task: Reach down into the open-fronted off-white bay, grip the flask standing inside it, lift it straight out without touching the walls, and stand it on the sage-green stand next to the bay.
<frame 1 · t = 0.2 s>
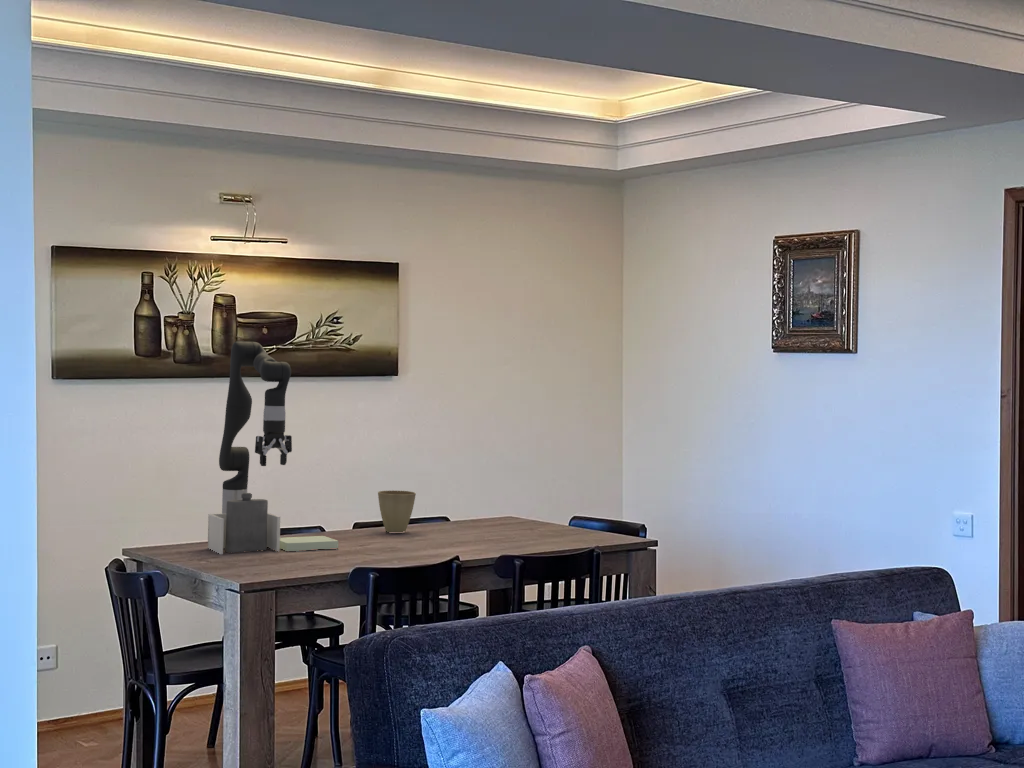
hand: (273, 465, 428), 30 cm above the table, tool pointing down, fingers open, 8 cm apart
stand: (305, 547, 437), on the table
bay: (245, 550, 426), on the table
plant pot: (395, 533, 485), on the table
flask: (245, 551, 426), on the table
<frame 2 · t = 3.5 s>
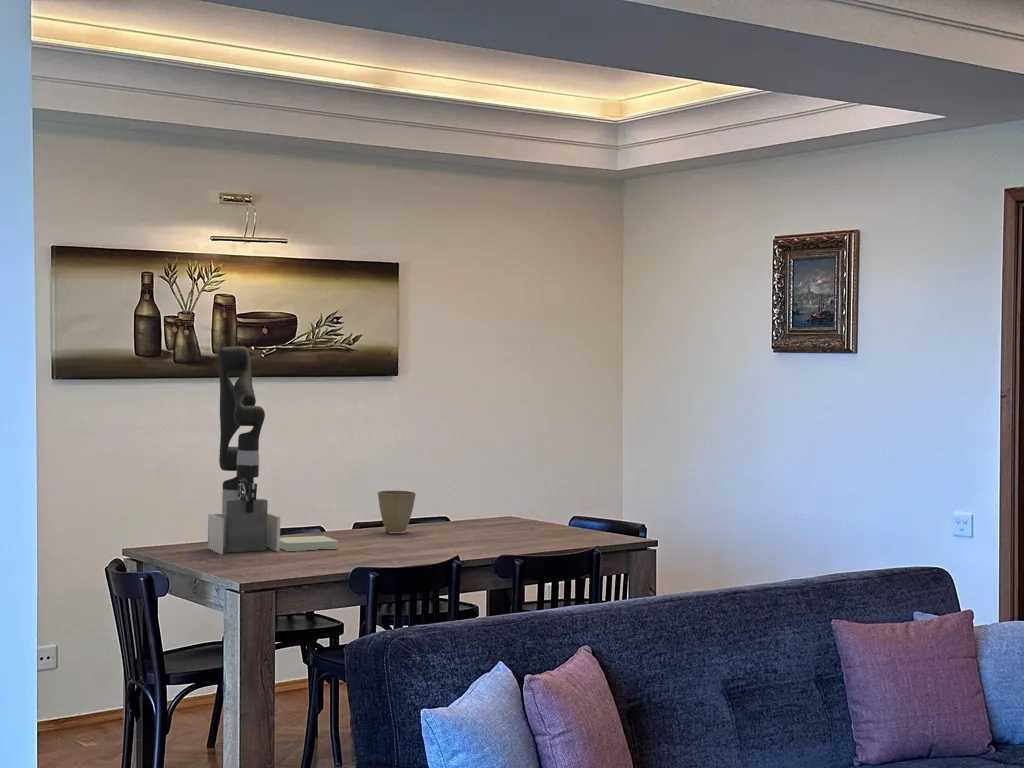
hand: (246, 511, 426), 14 cm above the table, tool pointing down, fingers closed on flask, 6 cm apart
flask: (245, 551, 426), on the table, touching gripper
everything else where it was.
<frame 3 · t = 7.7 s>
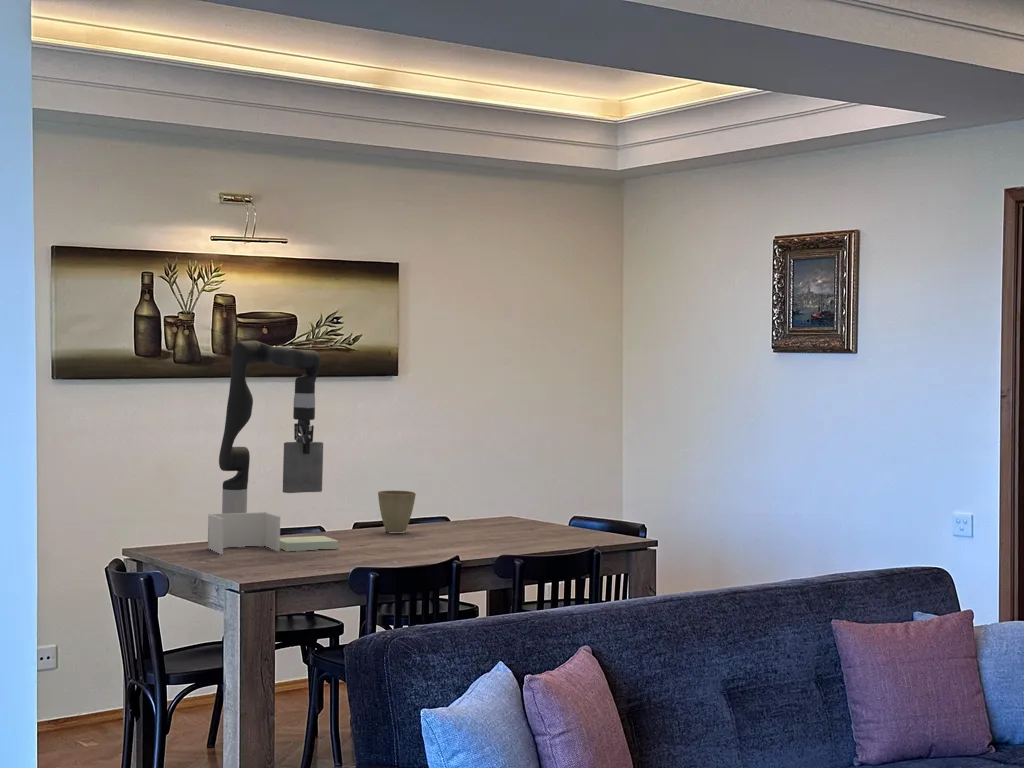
hand: (303, 453, 436), 34 cm above the table, tool pointing down, fingers closed on flask, 6 cm apart
flask: (301, 492, 436), point 20 cm above the table, touching gripper
everything else where it was.
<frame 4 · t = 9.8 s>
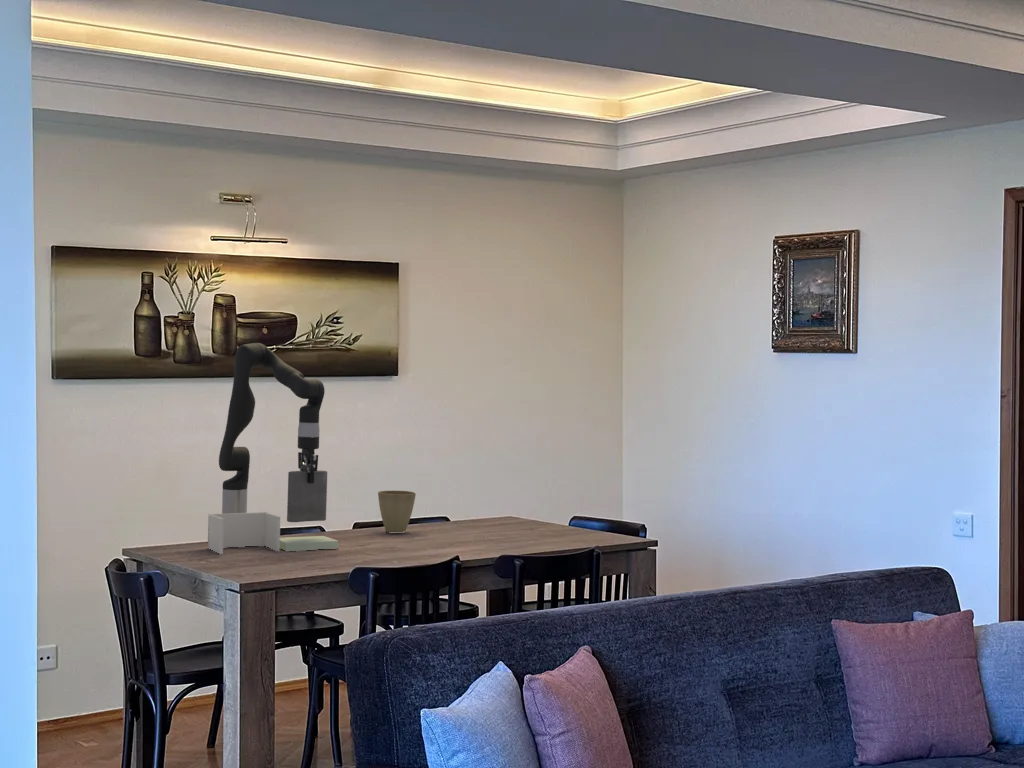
hand: (307, 482, 437), 23 cm above the table, tool pointing down, fingers closed on flask, 6 cm apart
flask: (306, 521, 437), point 9 cm above the table, touching gripper
everything else where it was.
when the fingers open (18 cm above the table, at t = 11.8 s): flask drops 1 cm, resting on stand.
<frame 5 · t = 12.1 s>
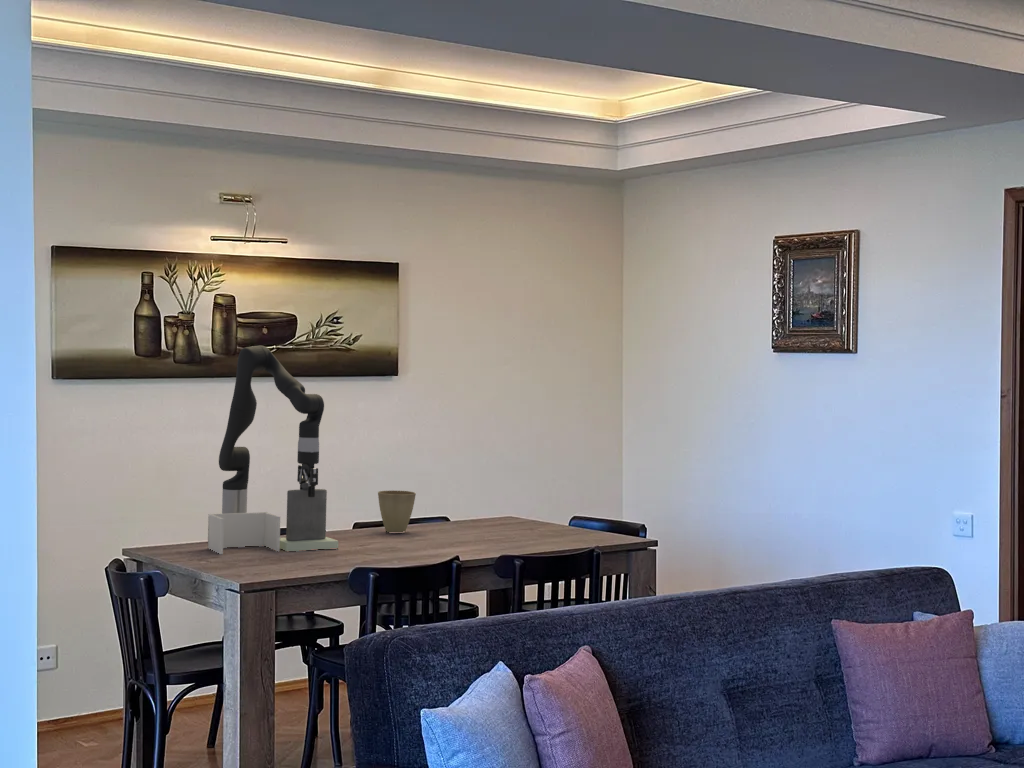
hand: (307, 495, 437), 19 cm above the table, tool pointing down, fingers open, 8 cm apart
flask: (305, 539, 437), point 3 cm above the table, touching stand
everything else where it was.
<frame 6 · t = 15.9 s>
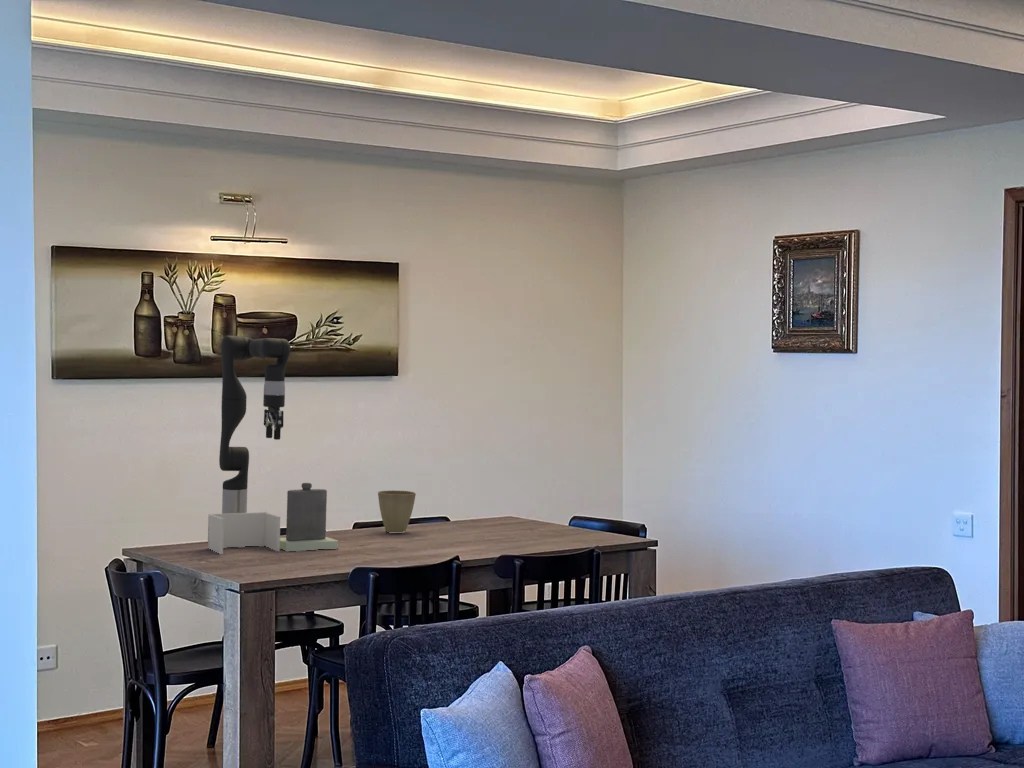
hand: (273, 438, 442), 38 cm above the table, tool pointing down, fingers open, 8 cm apart
nothing on the table moved.
at the end: flask inside the target area on the stand (0.4 cm from its centre), point 2.8 cm above the stand's base; flask tilted 0°; the gripper is holding nothing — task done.
